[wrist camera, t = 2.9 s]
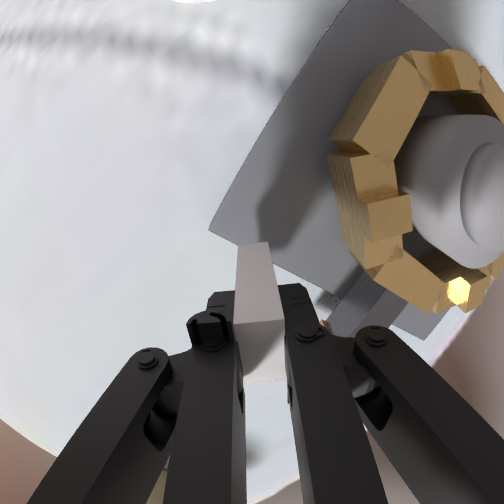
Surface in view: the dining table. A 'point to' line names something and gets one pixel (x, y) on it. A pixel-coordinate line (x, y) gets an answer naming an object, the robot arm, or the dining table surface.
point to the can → (194, 1)
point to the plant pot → (158, 490)
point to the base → (406, 165)
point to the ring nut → (396, 201)
